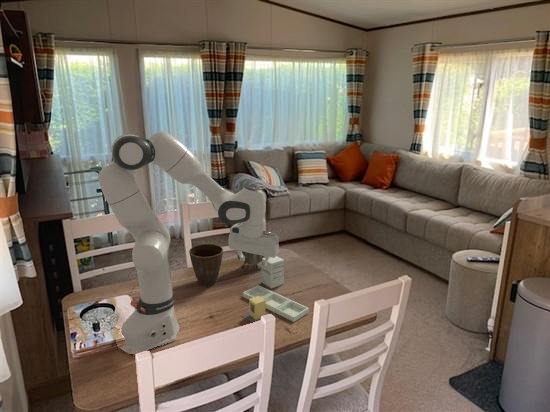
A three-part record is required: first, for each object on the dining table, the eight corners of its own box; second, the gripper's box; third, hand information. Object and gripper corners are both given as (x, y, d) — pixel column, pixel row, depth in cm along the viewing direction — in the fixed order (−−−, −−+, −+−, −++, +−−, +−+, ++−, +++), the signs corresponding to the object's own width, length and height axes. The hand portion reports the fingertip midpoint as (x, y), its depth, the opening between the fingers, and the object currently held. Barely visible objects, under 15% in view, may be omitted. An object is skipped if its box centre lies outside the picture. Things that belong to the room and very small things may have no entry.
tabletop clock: (258, 260, 209) (258, 214, 202) (270, 265, 203) (271, 218, 196) (237, 268, 199) (236, 220, 192) (249, 274, 193) (249, 225, 186)
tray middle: (275, 313, 160) (275, 308, 159) (258, 305, 166) (258, 300, 165) (290, 305, 167) (290, 299, 166) (273, 297, 173) (274, 292, 172)
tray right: (294, 323, 154) (294, 317, 153) (276, 314, 160) (276, 308, 159) (308, 313, 161) (308, 308, 160) (291, 305, 167) (291, 299, 166)
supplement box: (261, 283, 185) (261, 258, 181) (274, 279, 189) (274, 254, 185) (270, 289, 179) (271, 263, 175) (284, 285, 183) (284, 259, 180)
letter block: (255, 320, 155) (255, 304, 153) (249, 315, 158) (248, 299, 156) (265, 316, 157) (265, 300, 155) (258, 311, 161) (258, 295, 159)
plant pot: (230, 282, 186) (229, 250, 181) (204, 293, 175) (202, 259, 171) (210, 272, 195) (209, 241, 191) (184, 282, 185) (182, 250, 180)
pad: (257, 326, 152) (257, 325, 152) (241, 317, 158) (241, 316, 157) (273, 316, 158) (273, 315, 158) (257, 308, 164) (257, 307, 164)
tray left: (258, 305, 166) (258, 300, 166) (242, 297, 172) (242, 292, 171) (273, 297, 173) (273, 291, 172) (258, 290, 179) (258, 284, 178)
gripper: (282, 231, 150) (281, 265, 154) (234, 222, 158) (234, 255, 162) (275, 236, 145) (274, 271, 149) (226, 227, 153) (226, 261, 156)
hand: (253, 263), depth 155 cm, fingers open, 8 cm apart
